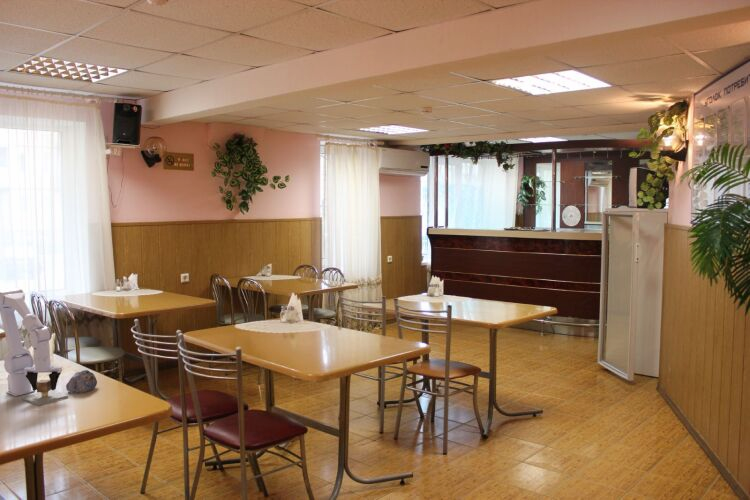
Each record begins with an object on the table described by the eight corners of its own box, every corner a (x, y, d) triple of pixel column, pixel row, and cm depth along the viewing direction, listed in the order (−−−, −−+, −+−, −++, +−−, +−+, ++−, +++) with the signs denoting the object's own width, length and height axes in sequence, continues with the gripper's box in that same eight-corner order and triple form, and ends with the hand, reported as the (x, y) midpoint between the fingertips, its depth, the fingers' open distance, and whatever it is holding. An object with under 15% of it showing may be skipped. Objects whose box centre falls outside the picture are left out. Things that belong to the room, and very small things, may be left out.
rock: (101, 380, 271) (89, 363, 266) (90, 397, 263) (78, 381, 257) (80, 384, 274) (68, 367, 268) (69, 401, 265) (56, 385, 260)
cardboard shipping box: (37, 392, 254) (36, 382, 253) (42, 389, 258) (41, 379, 257) (46, 392, 254) (46, 382, 253) (52, 389, 258) (51, 379, 257)
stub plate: (22, 399, 255) (21, 392, 255) (51, 391, 265) (51, 384, 265) (37, 405, 247) (37, 398, 247) (68, 397, 256) (67, 390, 256)
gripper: (64, 354, 258) (67, 386, 259) (30, 354, 258) (32, 386, 260) (55, 358, 251) (58, 391, 252) (20, 359, 251) (22, 392, 253)
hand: (44, 389), depth 255 cm, fingers open, 7 cm apart
